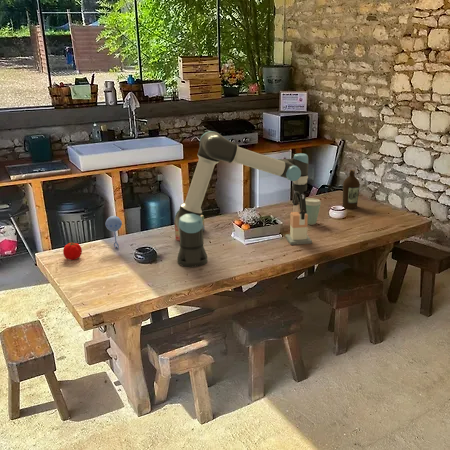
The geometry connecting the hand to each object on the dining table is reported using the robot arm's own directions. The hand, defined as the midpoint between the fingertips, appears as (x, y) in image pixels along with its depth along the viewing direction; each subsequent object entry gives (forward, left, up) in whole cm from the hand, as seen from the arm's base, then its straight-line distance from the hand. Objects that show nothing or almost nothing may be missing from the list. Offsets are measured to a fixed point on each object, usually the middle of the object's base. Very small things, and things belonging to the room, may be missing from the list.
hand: (298, 220), depth 271 cm
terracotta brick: (0, 0, -3) cm, 3 cm away
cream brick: (0, 0, -10) cm, 10 cm away
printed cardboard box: (-59, +19, -12) cm, 63 cm away
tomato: (-121, -5, -12) cm, 122 cm away
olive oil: (+49, +52, -12) cm, 72 cm away
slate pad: (0, 0, -11) cm, 11 cm away
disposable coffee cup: (+15, +26, -12) cm, 32 cm away
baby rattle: (-100, +6, -12) cm, 101 cm away
